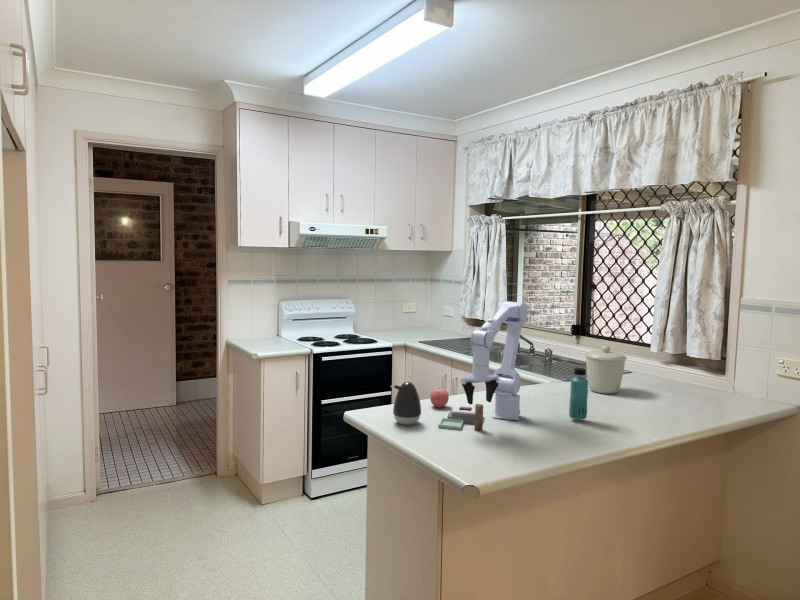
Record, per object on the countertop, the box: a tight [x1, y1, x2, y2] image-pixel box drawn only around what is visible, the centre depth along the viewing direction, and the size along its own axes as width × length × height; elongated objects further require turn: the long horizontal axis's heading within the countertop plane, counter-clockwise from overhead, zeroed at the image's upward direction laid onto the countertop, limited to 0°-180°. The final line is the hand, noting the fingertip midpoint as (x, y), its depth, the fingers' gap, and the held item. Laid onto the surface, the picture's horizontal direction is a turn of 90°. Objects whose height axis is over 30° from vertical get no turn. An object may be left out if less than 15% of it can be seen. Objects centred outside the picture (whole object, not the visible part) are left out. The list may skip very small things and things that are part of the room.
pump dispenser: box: [392, 381, 422, 426], centre depth 203 cm, size 10×10×15 cm
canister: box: [584, 345, 628, 395], centre depth 255 cm, size 18×18×21 cm
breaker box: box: [446, 404, 475, 425], centre depth 209 cm, size 12×10×4 cm
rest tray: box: [437, 417, 465, 431], centre depth 202 cm, size 8×8×1 cm
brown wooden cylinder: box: [473, 403, 484, 432], centre depth 197 cm, size 3×3×9 cm
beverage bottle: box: [568, 367, 589, 420], centre depth 210 cm, size 6×7×20 cm
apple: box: [429, 387, 449, 408], centre depth 224 cm, size 7×7×8 cm
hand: (479, 402), depth 196 cm, fingers open, 7 cm apart
